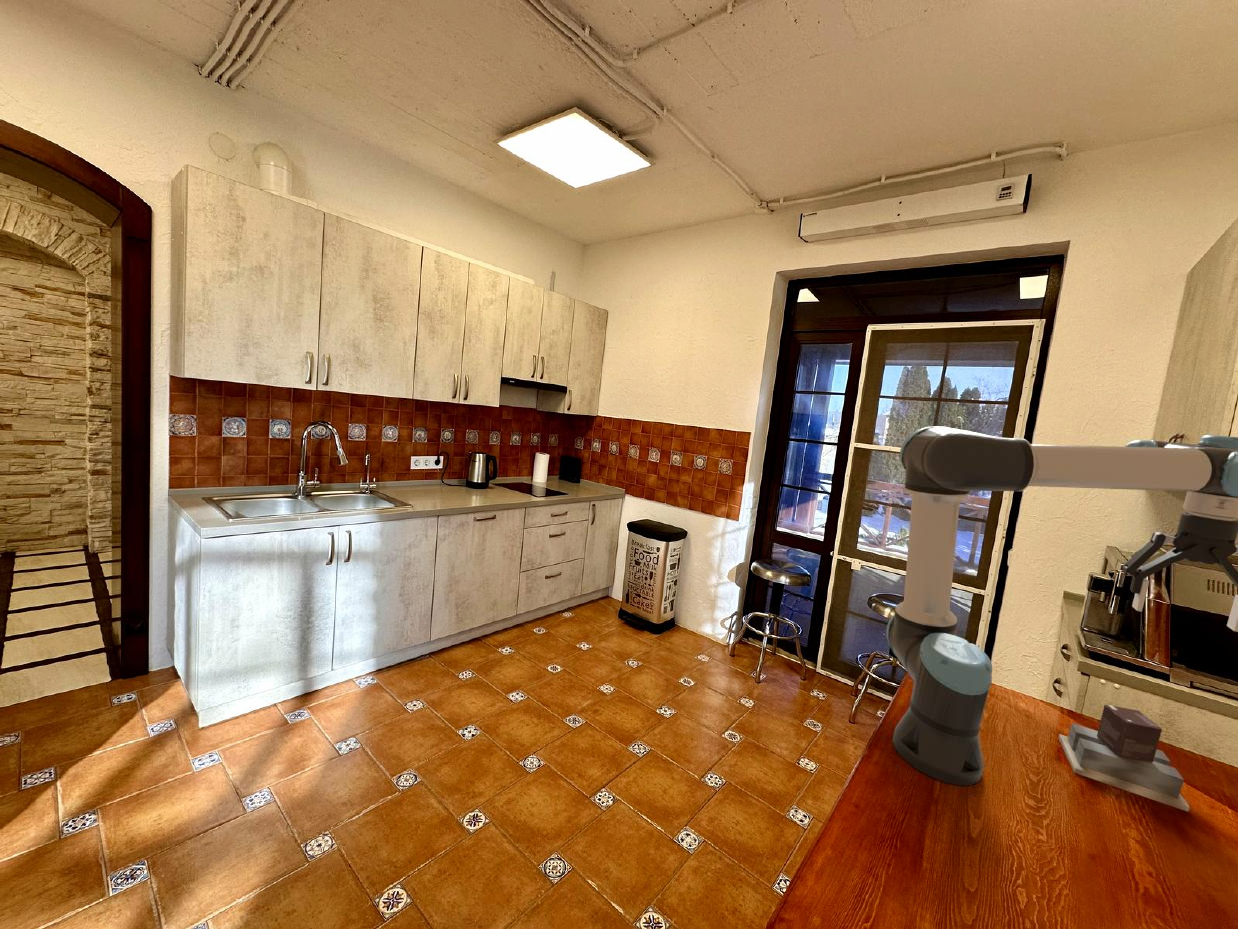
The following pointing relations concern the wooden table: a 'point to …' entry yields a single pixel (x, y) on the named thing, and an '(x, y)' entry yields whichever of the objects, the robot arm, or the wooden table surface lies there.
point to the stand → (1123, 768)
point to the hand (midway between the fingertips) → (1183, 618)
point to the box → (1129, 733)
